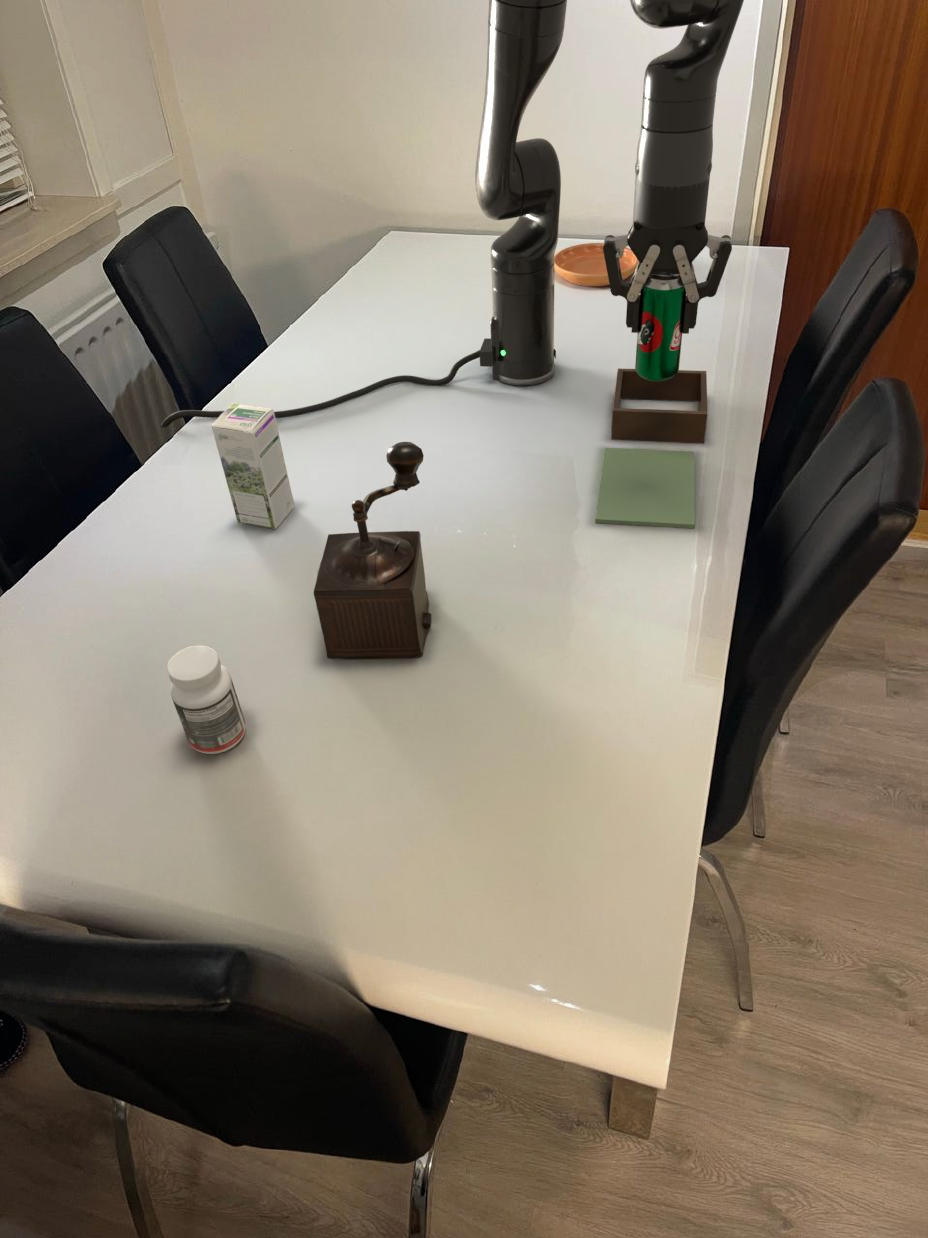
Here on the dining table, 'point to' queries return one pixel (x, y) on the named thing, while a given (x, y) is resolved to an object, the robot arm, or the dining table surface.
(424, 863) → the dining table surface
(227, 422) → the syrup box
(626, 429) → the crate
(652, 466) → the mat
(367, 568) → the manual coffee grinder
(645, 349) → the soda can
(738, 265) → the dining table surface
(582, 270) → the saucer
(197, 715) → the pill bottle
